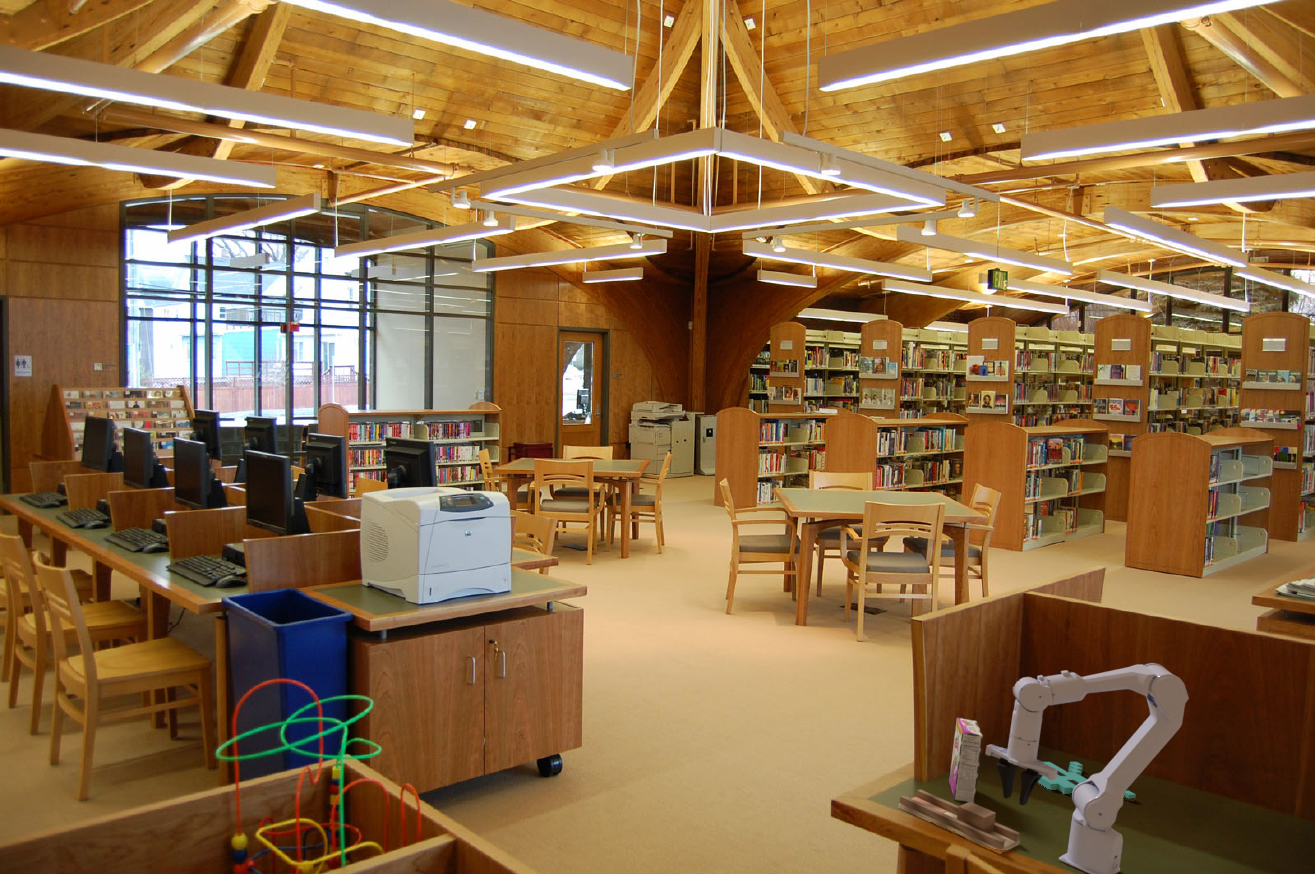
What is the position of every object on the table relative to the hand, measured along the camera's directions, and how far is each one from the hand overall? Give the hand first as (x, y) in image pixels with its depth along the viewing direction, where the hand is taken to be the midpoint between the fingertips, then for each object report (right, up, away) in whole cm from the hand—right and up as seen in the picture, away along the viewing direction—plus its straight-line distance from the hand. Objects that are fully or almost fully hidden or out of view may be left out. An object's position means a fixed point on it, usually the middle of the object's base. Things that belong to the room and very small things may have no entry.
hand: (1015, 800), depth 192 cm
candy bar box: (-2, -10, +28) cm, 30 cm away
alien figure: (+31, -14, +43) cm, 55 cm away
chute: (-9, -9, +9) cm, 16 cm away
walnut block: (-6, -8, +6) cm, 12 cm away
